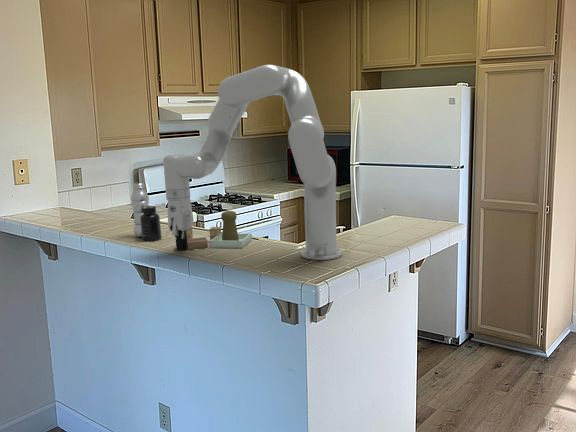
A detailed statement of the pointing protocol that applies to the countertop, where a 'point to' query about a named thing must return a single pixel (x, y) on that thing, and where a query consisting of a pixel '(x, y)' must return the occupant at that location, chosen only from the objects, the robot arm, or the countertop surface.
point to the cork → (229, 226)
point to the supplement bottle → (150, 224)
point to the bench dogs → (213, 232)
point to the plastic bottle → (138, 205)
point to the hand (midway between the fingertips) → (182, 250)
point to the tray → (242, 242)
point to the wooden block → (197, 243)
